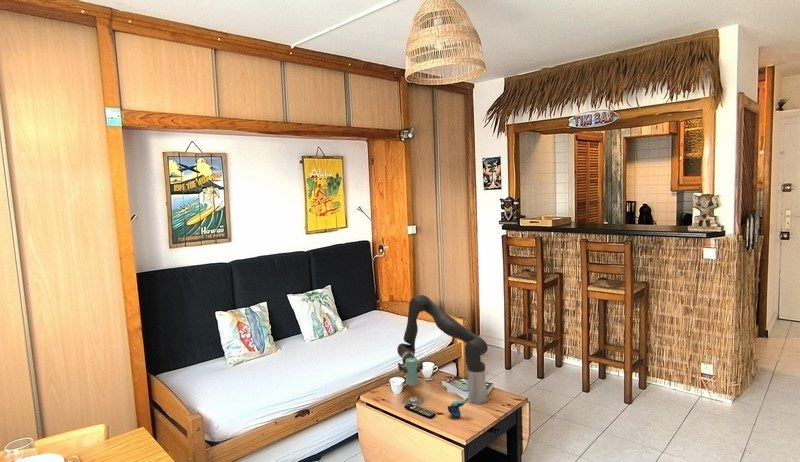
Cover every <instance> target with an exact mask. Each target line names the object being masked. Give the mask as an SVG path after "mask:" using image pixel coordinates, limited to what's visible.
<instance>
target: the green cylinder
mask: <svg viewBox="0 0 800 462" xmlns="http://www.w3.org/2000/svg"><path fill="white" fill-rule="evenodd" d="M417 362H418V358H416V357H415V358H407V359H406V360H405V364H406V374H405V379H406V380H405V381H406V382H405V383H406V386H407V385H408V386H417V385H418V384H419V373H418V363H419V362H418V363H417Z"/></svg>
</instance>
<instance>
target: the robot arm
mask: <svg viewBox="0 0 800 462" xmlns="http://www.w3.org/2000/svg"><path fill="white" fill-rule="evenodd" d="M422 312H425V313H427V314H428V315H429V316H431V317H432V319H433V320H434V323H435V325H436V327H437V328H438V329H439V330H440V331H441V332H442V333H444V334H445V335H447V336H449V337H450V338H454V339H456V340H461V341H462V342H463V343H465V346H464V358H465V365H466V367H467V382H468V383H467V387H468V389H467V391H468V402H469V403H471V404H475V405H482V404H484V403H487V402H488V385H487V383H486V365H485V363H484V362H483V361H482V360H481V357H482V356H483V355H485V354H486V353H487V352H488V348H489V347H488V344H487V342H486V341H485V340H484V339H483V338H482V337H480V336H478V335H477V334H476V333H473V332H471V331H470V330H469V329H467V328H466V327H465V326H463V325H462V324H461V323H460V322H458V321H457V320H456V319H454V318H453V317H452V316H450V315H449V314H447V313H446V312H445V311H444V310H443V309H441V308H440V307H439V306H438V305H436V304H435V302H433V301H432V299H430V297H428V296H426V295H424V294H421V295H416V296H414V297H412V298H410V301H409V303H408V312H407V313H408V314H407V323H406V327H405V331H404V334H403V342H405V343H400V344H398V346H397V349H396V350H397V355H398V356H399V357H400V358H401V360H402V361H401V362H402V363H401V362H398V363H397V368H398V370H399V372H403V374H405V375H406V364H405V360H406V359H407V358H416V356H415V353H416V346H415V345H416V339H417V335H418V331H419V330H418V329H419V327H418V326H419V325H418V323H417V322H418V321H417V319H418V317H419V314H420V313H422ZM417 363H418V374H419V373H421V370H423V369H424V363H423V361H420V362H418V361H417Z"/></svg>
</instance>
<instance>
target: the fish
mask: <svg viewBox="0 0 800 462" xmlns="http://www.w3.org/2000/svg"><path fill="white" fill-rule="evenodd" d="M467 401H469V398H464V399H461V400H457V399H456V400H454V401H453V402H451V404H450V405H448V406H447V410H448V413H449V414H450V415H451V416H452V417H454V418H455V419H460V417H461V409H460V407H464V405H466V403H467Z"/></svg>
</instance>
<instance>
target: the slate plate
mask: <svg viewBox="0 0 800 462" xmlns="http://www.w3.org/2000/svg"><path fill="white" fill-rule="evenodd" d="M411 397H412V396H409V397H406V398H404V399H403V401H402V403H403V404H404V405H406V404H412V405H414V406H413V407H417V406H421V405H422V404H424V399H423V398H421V397H418V396H415V397H416V398H417V402H416V403H411V402H410V398H411ZM406 406H407V405H406Z"/></svg>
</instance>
